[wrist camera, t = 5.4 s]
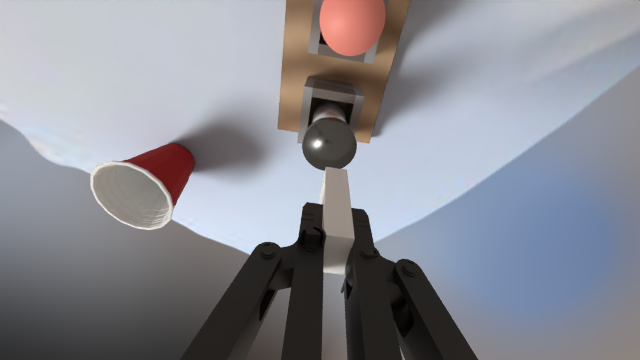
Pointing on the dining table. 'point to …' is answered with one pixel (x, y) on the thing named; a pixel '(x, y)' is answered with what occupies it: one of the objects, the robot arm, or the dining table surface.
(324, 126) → the grey plug
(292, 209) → the dining table surface
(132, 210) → the plastic cup
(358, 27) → the red plug
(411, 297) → the robot arm
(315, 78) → the socket board
